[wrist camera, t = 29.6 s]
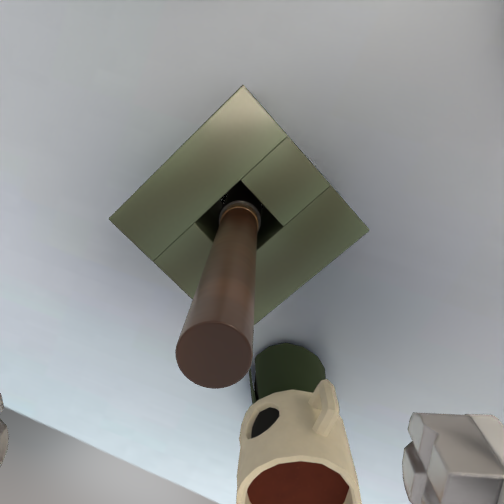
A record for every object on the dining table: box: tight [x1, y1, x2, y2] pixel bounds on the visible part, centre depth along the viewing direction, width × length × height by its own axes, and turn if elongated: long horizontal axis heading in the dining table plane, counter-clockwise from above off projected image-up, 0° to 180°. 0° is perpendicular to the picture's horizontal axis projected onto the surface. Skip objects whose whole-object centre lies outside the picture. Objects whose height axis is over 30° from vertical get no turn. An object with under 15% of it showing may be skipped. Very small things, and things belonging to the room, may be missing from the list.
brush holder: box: [109, 85, 369, 325], centre depth 28 cm, size 10×10×9 cm
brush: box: [176, 180, 261, 388], centre depth 22 cm, size 2×2×22 cm
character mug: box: [236, 343, 362, 504], centre depth 31 cm, size 11×7×13 cm, turn 158°
